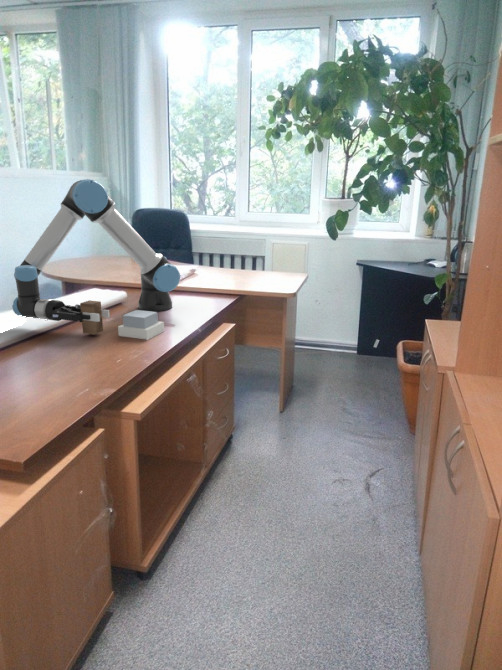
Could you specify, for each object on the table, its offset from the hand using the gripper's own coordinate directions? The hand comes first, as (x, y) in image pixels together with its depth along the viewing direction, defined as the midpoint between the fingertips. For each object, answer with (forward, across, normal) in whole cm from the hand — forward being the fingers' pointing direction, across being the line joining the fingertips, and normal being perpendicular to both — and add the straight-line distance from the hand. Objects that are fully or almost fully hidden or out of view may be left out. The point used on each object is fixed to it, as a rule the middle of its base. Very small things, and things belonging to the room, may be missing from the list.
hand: (103, 315), depth 170 cm
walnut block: (-5, 0, -7) cm, 8 cm away
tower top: (+9, -9, -4) cm, 14 cm away
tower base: (+9, -9, -8) cm, 16 cm away
